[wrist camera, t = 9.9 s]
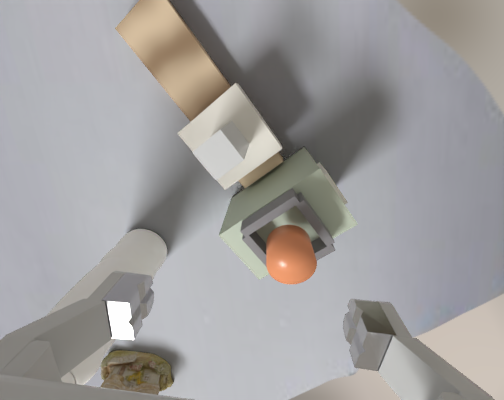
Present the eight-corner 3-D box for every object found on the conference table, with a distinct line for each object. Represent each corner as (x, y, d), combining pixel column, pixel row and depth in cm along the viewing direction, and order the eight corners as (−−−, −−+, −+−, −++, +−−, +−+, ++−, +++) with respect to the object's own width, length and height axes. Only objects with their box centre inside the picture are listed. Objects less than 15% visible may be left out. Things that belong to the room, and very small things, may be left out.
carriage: (185, 129, 29) (148, 146, 20) (238, 84, 27) (224, 78, 18) (228, 181, 32) (213, 217, 22) (281, 143, 29) (287, 166, 20)
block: (125, 32, 28) (115, 28, 26) (162, -9, 26) (154, -17, 24) (246, 183, 34) (244, 188, 32) (282, 157, 32) (283, 161, 30)
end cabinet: (231, 198, 35) (215, 246, 24) (307, 144, 31) (328, 172, 20) (261, 233, 37) (258, 292, 26) (335, 186, 33) (369, 232, 22)
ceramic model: (178, 358, 49) (158, 419, 40) (171, 391, 54) (151, 453, 44) (107, 342, 49) (70, 400, 39) (106, 377, 53) (72, 436, 44)
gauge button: (257, 239, 23) (256, 259, 20) (294, 216, 22) (298, 234, 19) (282, 268, 24) (284, 291, 21) (319, 248, 23) (326, 269, 20)
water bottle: (124, 222, 37) (-103, 426, 14) (170, 232, 38) (19, 448, 15) (124, 260, 40) (-66, 481, 17) (167, 268, 40) (36, 499, 17)
